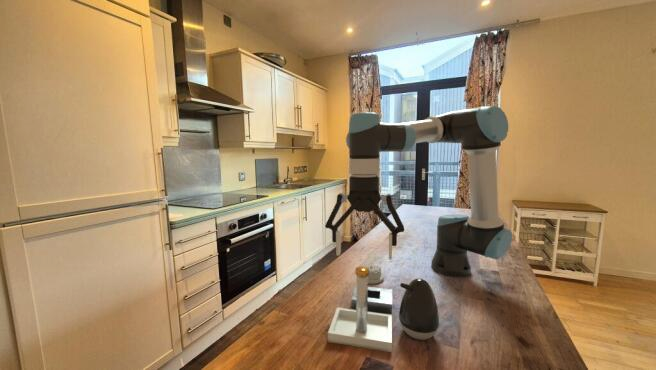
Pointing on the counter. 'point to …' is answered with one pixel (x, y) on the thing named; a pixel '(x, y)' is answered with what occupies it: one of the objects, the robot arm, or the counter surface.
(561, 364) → the counter surface
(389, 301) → the block
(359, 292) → the pin
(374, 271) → the mechanical component
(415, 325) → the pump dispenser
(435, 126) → the robot arm
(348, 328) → the tray
